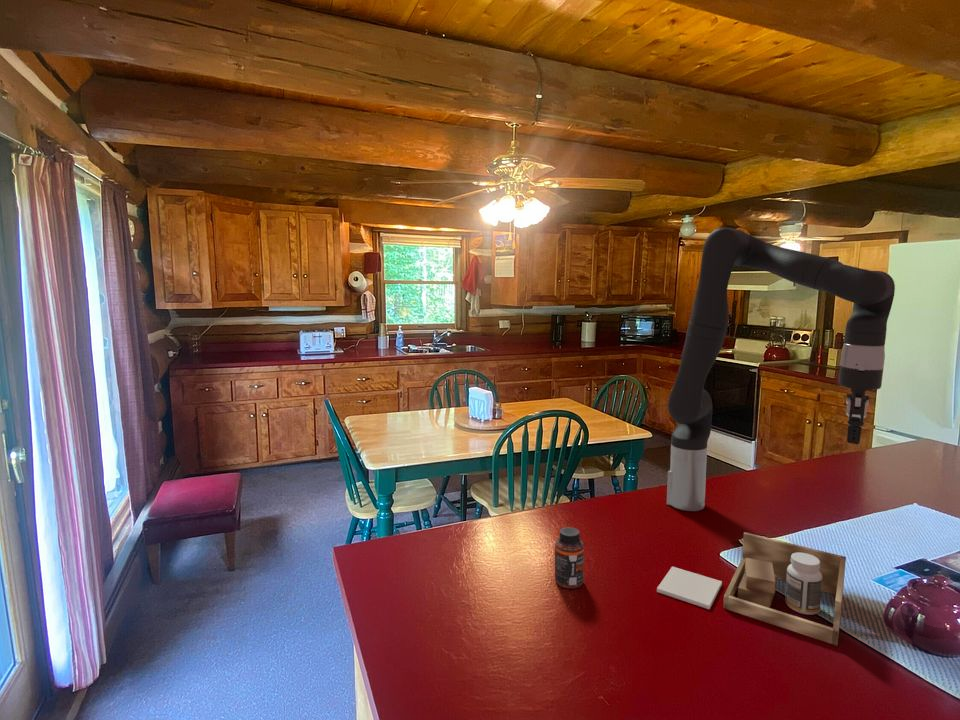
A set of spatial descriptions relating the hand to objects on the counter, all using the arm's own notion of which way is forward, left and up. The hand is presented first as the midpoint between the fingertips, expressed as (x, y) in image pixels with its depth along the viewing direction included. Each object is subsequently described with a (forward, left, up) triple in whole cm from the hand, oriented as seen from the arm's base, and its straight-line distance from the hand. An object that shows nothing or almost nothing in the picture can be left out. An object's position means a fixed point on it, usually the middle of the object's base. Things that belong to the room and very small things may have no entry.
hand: (853, 438), depth 114 cm
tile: (-24, -34, -27) cm, 50 cm away
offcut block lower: (-13, -28, -28) cm, 41 cm away
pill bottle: (-5, -28, -27) cm, 39 cm away
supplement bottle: (-45, -46, -27) cm, 70 cm away
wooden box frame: (-8, -28, -27) cm, 40 cm away
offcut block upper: (-13, -27, -25) cm, 39 cm away
